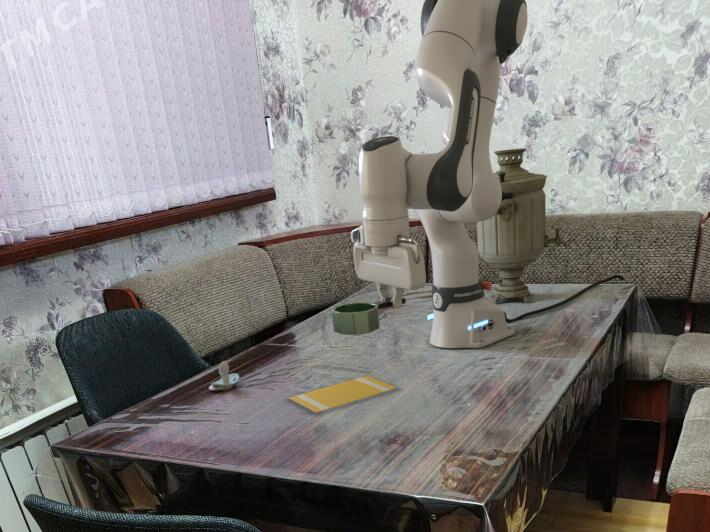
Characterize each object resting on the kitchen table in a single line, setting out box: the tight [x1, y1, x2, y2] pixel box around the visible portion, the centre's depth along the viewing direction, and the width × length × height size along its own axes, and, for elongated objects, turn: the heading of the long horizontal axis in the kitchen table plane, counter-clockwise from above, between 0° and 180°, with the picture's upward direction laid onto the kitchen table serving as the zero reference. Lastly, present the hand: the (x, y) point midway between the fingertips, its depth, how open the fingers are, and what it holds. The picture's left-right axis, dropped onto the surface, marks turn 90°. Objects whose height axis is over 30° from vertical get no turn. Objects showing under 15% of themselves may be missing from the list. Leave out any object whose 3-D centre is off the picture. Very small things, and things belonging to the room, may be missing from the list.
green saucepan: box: [331, 297, 407, 336], centre depth 141 cm, size 16×9×4 cm, turn 124°
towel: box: [288, 375, 398, 413], centre depth 151 cm, size 20×12×1 cm, turn 124°
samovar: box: [476, 147, 569, 305], centre depth 202 cm, size 30×26×40 cm
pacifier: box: [208, 360, 240, 392], centre depth 160 cm, size 7×6×6 cm
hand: (391, 307), depth 143 cm, fingers closed on green saucepan, 2 cm apart
